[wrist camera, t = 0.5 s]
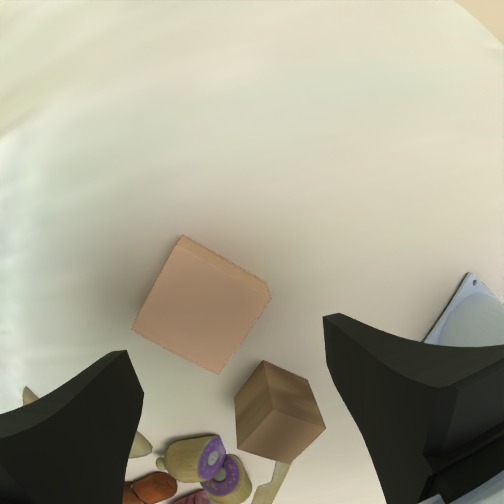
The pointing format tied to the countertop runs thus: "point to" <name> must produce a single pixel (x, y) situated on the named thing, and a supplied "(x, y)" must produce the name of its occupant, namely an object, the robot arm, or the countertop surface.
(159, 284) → the base block
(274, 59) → the countertop surface
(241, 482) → the toy food set
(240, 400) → the walnut block
